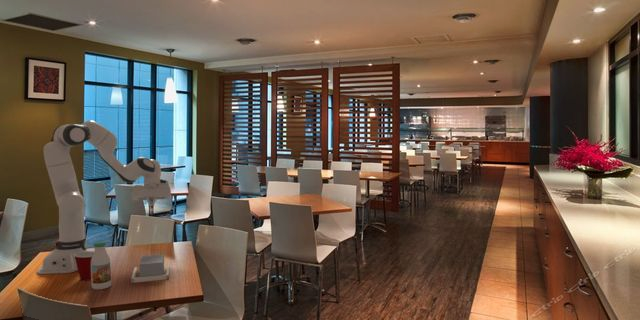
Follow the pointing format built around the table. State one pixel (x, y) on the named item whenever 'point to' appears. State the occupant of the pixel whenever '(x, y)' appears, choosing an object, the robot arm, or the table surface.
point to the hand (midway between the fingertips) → (151, 205)
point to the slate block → (152, 265)
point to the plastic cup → (84, 264)
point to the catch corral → (149, 278)
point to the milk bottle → (100, 267)
